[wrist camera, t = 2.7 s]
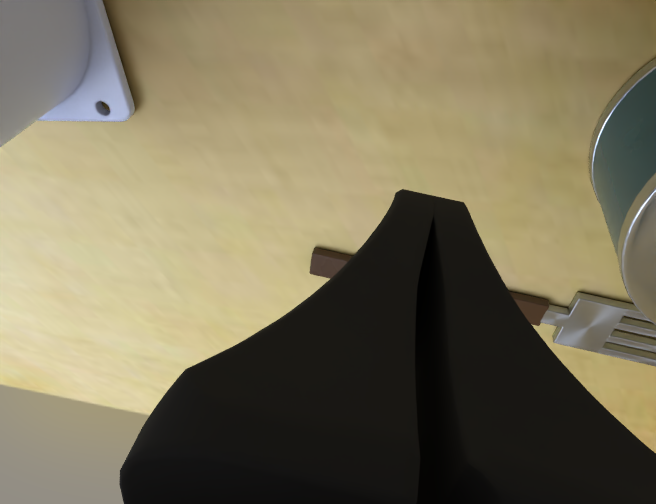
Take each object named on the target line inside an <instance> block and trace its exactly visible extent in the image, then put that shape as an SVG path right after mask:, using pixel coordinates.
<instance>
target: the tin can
mask: <svg viewBox="0 0 656 504" xmlns="http://www.w3.org/2000/svg"><path fill="white" fill-rule="evenodd" d="M589 173H590V178H591V183H592V186H593V189H594V192H595V194H596V197H597V200H598V201H599V203H600V205H601V208H602V211H603V214H604V217H605V220H606V223H607V226H608V229H609V233H610V236H611V239H612V242H613V245H614V248H615V251H616V254H617V257H618V263H619V269H620V273H621V276H622V279H623V282H624V285H625V288H626V290H627V293H628V295H629V297H630V298H631V300H632V301H633V303H634V305H635V306H636V307H637V308H638V309H639V311H640V312H641V313H642V314H643V315H644V316H645V317H646V318H647V319H649V320H650V321H651V322H652V323H653V324H655V325H656V58H655V59H654V60H652V61H651V62H649V63H648V64H647V65H646V66H644V67H643V68H642V69H641V70H639V71H638V72H637V73H636V74H635V75H634V76H633V77H632V78H631V79H630V80H629V81H628V82H627V83H626V84H625V85H624V86H623V87H622V88H621V89H620V90H619V91H618V93H617V94H616V95H615V96H614V98H613V99H612V100H611V101H610V103H609V105H608V106H607V108H606V109H605V111H604V113H603V114H602V116H601V118H600V120H599V122H598V125H597V127H596V129H595V132H594V135H593V138H592V141H591V146H590V153H589Z"/></svg>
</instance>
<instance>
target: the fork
mask: <svg viewBox="0 0 656 504" xmlns="http://www.w3.org/2000/svg"><path fill="white" fill-rule="evenodd" d="M352 257H353V256H350V255H345V254H341V253H337V252H332V251H328V250H323V249H319V248H314V250H313V253H312V259H311V266H310V274H313V275H318V276H322V277H326V278H332V277H333V276H334V275H335V274H336V273H337V272H338V271H339V270H340V269H341V268H342V267H343V266H344V265H345V264H346V263H347V262H348V261H349V260H350V259H351V258H352ZM509 292H510V291H509ZM510 294H511V295H512V297H513V299H514V300H515V302H516V303H517V305H518V306H519V308H520V310H521V311H522V313H523V314H524V315H525V317H526V318H527V320H528V321H529V322H530V324H532V325H537V326H539V325H540V323H545V324H550V325H554V326H558V327H557V329H556V330H555V332H554V334H553V336H552V337H553V342H554V343H557V344H561V345H566V346H570V347H574V348H579V349H583V350H587V351H592V352H596V353H600V354H604V355H609V356H613V357H617V358H622V359H626V360H630V361H635V362H639V363H643V364H648V365H652V366H656V353H651V352H656V340H655V339H651V338H647V337H642V336H638V335H633V334H629V333H625V332H620V331H616V330H614V329H615V328H616V329H620V330H624V331H629V332H633V333H638V334H642V335H647V336H651V337H655V338H656V325H655V324H652V323H647V322H643V321H638V320H634V319H629V318H625V317H623V316H629V317H633V318H637V319H642V320H646V321H650V320H649V319H647V318H646V317H645V316H644V315H643V314H642V313H641V312H640V311H639V309H638V308H637V307H636V306H635V305H634V304H630V303H625V302H621V301H616V300H612V299H607V298H603V297H598V296H594V295H589V294H585V293H580V292H577V294H576V296H575V297H574V299H573V301H572V303H571V304H570V306H569V308H568V309H567V308H563V307H558V306H554V305H550V304H549V301H548V300H546V299H541V298H537V297H532V296H528V295H523V294H519V293H514V292H510ZM606 341H607V342H612V343H616V344H621V345H625V346H629V347H634V348H638V349H642V350H647V351H651V352H647V351H642V350H638V349H634V348H629V347H625V346H620V345H616V344H612V343H607V342H606Z"/></svg>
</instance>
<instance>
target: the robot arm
mask: <svg viewBox="0 0 656 504" xmlns="http://www.w3.org/2000/svg"><path fill="white" fill-rule="evenodd" d="M102 102H105V103H106V104H107V105H108V106H109V108H110V111H109V110H107V109H105V108H104V107H103V105H102ZM134 111H135V107H134V102H133V99H132V96H131V92H130V89H129V86H128V82H127V79H126V76H125V73H124V69H123V66H122V63H121V60H120V56H119V53H118V50H117V46H116V43H115V40H114V37H113V33H112V30H111V27H110V23H109V20H108V17H107V14H106V10H105V7H104V4H103V1H102V0H0V147H2V146H3V145H4V144H6V143H7V142H8V141H10V140H11V139H13V138H14V137H15V136H17V135H18V134H19V133H21V132H22V131H23V130H25V129H26V128H27V127H29V126H30V125H31V124H33V123H34V122H35V121H113V122H122V121H126V120H127V119H128V118H130V117H131V116H132V115H133V114H134ZM120 488H121V492H122V497H123V501H124V504H656V453H654V452H653V451H652V450H651V449H649V448H648V447H647V446H646V445H645V444H644V443H642V442H641V441H640V440H639V439H638V438H637V437H636V436H635V435H633V434H632V433H631V432H630V431H629V430H628V429H627V428H626V427H625V426H624V425H623V424H622V423H620V422H619V421H618V420H617V419H616V418H615V417H614V416H613V415H612V414H611V413H610V412H609V411H608V410H606V409H605V408H604V407H603V406H602V405H601V404H600V403H599V402H598V401H597V400H596V399H595V398H594V397H593V396H592V395H591V394H590V393H589V392H588V391H587V390H586V388H585V387H584V386H583V385H582V384H581V383H580V382H579V381H578V380H577V379H576V378H575V377H574V375H573V374H572V373H571V372H570V371H569V370H568V369H567V368H566V367H565V366H564V365H563V364H562V362H561V361H560V360H559V359H558V358H557V356H556V355H555V354H554V353H553V352H552V351H551V349H550V348H549V347H548V346H547V344H546V343H545V342H544V341H543V339H542V338H541V337H540V335H539V334H538V333H537V331H536V330H535V329H534V328H533V326H532V325H531V324H530V322H529V321H528V320H527V318H526V317H525V315H524V314H523V313H522V311H521V310H520V308H519V306H518V305H517V303H516V302H515V300H514V299H513V297H512V295H511V294H510V292H509V291H508V289H507V287H506V285H505V284H504V282H503V280H502V279H501V277H500V275H499V273H498V271H497V269H496V268H495V266H494V264H493V262H492V260H491V258H490V257H489V255H488V253H487V251H486V249H485V247H484V244H483V242H482V240H481V238H480V236H479V234H478V232H477V230H476V227H475V225H474V223H473V220H472V218H471V216H470V213H469V211H468V209H467V207H466V205H465V204H464V202H459V201H455V200H450V199H445V198H441V197H436V196H432V195H427V194H422V193H418V192H413V191H409V190H404V189H402V190H400V191H398V192H396V193H395V197H394V200H393V202H392V204H391V206H390V208H389V210H388V212H387V213H386V215H385V216H384V218H383V219H382V221H381V223H380V224H379V225H378V227H377V228H376V229H375V231H374V232H373V233H372V234H371V236H370V237H369V238H368V240H367V241H366V242H365V243H364V245H363V246H362V247H361V248H360V249H359V250H358V251H357V252H356V253H355V255H354V256H353V257H352V258H351V259H350V260H349V261H348V262H347V263H346V264H345V265H344V266H343V267H342V268H341V269H340V270H339V271H338V272H337V273H336V274H335V275H334V276H333V277H332V278H331V279H330V280H329V281H328V282H326V283H325V284H324V285H323V286H322V287H321V288H320V289H318V290H317V291H316V292H315V293H314V294H312V295H311V296H310V297H308V298H307V299H306V300H305V301H303V302H302V303H301V304H299V305H298V306H297V307H295V308H294V309H293V310H291V311H290V312H289V313H287V314H286V315H284V316H283V317H281V318H280V319H278V320H277V321H275V322H274V323H272V324H270V325H269V326H267V327H265V328H264V329H262V330H260V331H259V332H257V333H256V334H254V335H252V336H251V337H249V338H247V339H246V340H244V341H242V342H240V343H239V344H237V345H235V346H233V347H231V348H229V349H227V350H225V351H223V352H221V353H219V354H217V355H215V356H213V357H211V358H208V359H206V360H204V361H202V362H200V363H198V364H196V365H194V366H192V367H190V368H187V369H185V371H184V372H183V373H182V374H181V375H180V376H179V378H178V379H177V380H176V381H175V382H174V384H173V385H172V386H171V387H170V389H169V390H168V391H167V392H166V394H165V395H164V396H163V398H162V399H161V401H160V402H159V403H158V405H157V406H156V408H155V409H154V410H153V412H152V413H151V415H150V417H149V418H148V419H147V421H146V422H145V424H144V426H143V427H142V429H141V431H140V433H139V435H138V437H137V439H136V441H135V443H134V445H133V447H132V449H131V450H130V452H129V454H128V456H127V458H126V460H125V462H124V464H123V466H122V468H121V470H120Z"/></svg>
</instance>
